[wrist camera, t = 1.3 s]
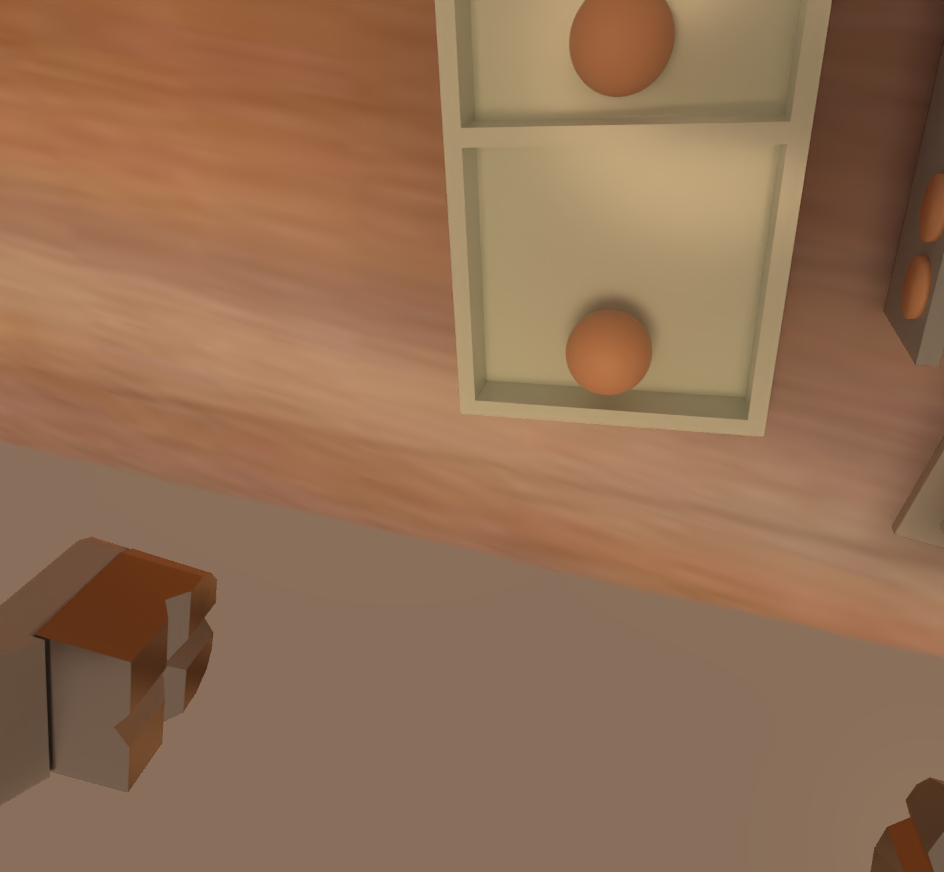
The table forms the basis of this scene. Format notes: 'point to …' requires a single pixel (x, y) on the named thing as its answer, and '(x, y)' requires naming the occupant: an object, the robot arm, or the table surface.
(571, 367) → the terracotta ball
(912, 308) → the card
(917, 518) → the test tube rack
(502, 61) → the twin dish
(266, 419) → the table surface
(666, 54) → the terracotta ball
